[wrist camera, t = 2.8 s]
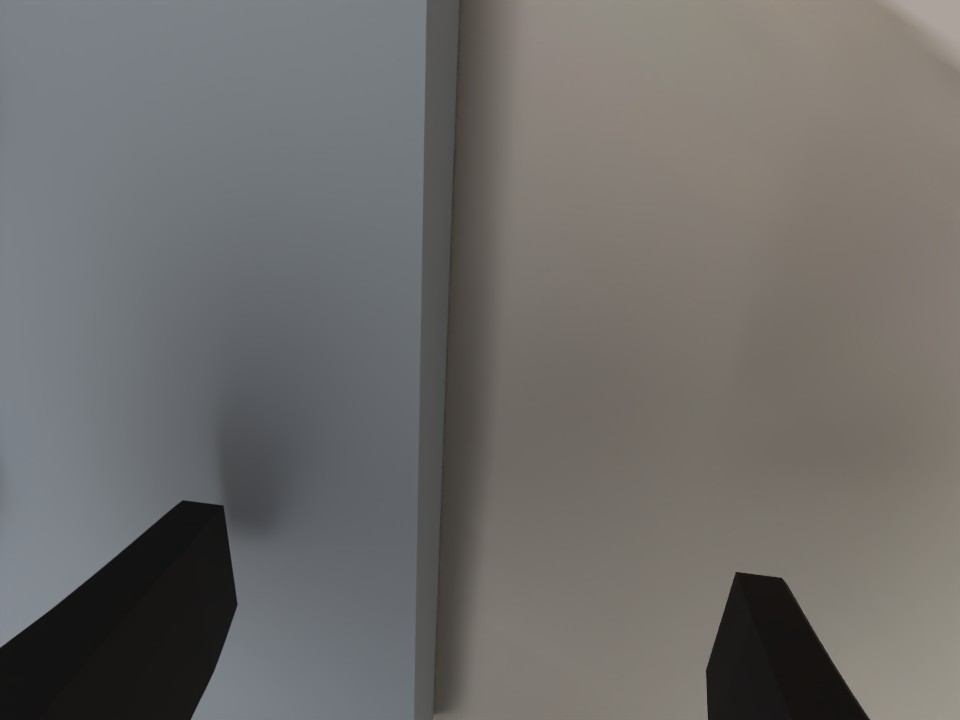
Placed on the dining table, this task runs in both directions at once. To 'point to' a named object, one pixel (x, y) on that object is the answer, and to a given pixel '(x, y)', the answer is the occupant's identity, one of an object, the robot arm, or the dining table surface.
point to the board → (234, 322)
